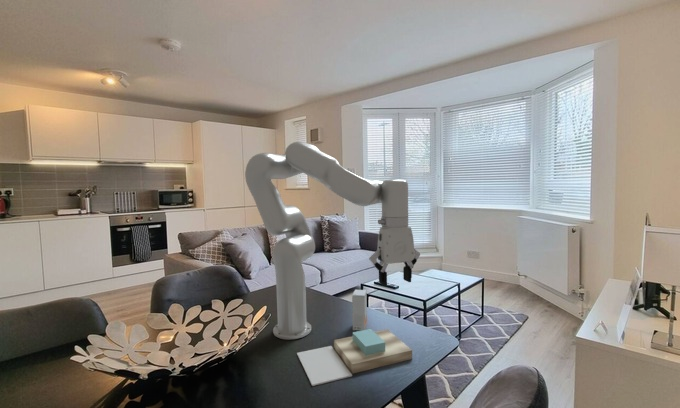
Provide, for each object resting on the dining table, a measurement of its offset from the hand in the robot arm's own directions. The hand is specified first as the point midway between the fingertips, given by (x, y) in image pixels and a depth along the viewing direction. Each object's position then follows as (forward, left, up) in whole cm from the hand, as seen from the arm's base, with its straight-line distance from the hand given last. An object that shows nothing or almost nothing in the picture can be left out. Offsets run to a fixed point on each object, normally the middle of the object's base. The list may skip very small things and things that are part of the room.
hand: (395, 282), depth 95 cm
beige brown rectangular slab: (0, -8, -20) cm, 21 cm away
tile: (0, -9, -16) cm, 18 cm away
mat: (0, -23, -20) cm, 30 cm away
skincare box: (-17, -4, -20) cm, 27 cm away
